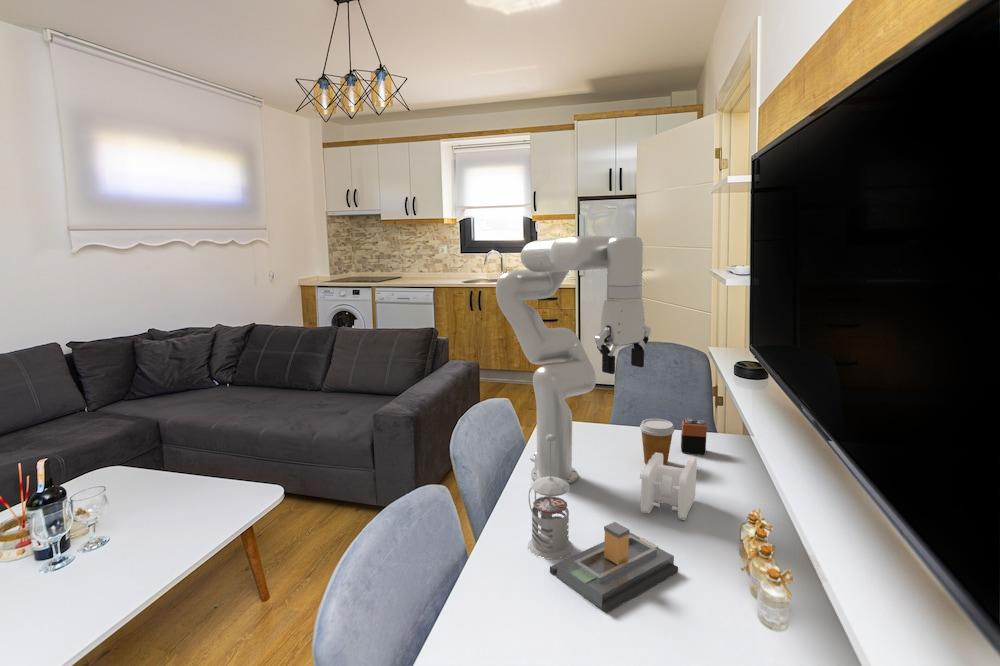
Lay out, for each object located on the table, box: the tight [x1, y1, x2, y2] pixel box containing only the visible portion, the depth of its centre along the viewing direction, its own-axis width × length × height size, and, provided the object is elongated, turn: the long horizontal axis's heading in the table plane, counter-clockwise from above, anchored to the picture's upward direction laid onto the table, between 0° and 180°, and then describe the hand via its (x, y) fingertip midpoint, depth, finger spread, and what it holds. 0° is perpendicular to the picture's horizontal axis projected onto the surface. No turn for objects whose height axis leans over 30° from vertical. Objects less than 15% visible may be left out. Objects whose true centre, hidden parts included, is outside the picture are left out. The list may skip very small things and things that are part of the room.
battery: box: [680, 417, 708, 455], centre depth 172 cm, size 4×7×10 cm, turn 77°
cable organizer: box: [639, 452, 698, 521], centre depth 137 cm, size 15×11×12 cm
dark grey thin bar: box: [601, 564, 679, 614], centre depth 107 cm, size 1×20×1 cm, turn 126°
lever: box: [603, 521, 631, 565], centre depth 111 cm, size 4×3×6 cm
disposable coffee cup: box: [639, 418, 676, 466], centre depth 163 cm, size 10×10×12 cm
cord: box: [549, 563, 557, 576], centre depth 118 cm, size 1×20×1 cm, turn 126°
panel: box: [556, 532, 675, 611], centre depth 112 cm, size 12×20×4 cm, turn 126°
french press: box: [527, 434, 574, 560], centre depth 121 cm, size 10×12×25 cm
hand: (623, 369), depth 128 cm, fingers open, 9 cm apart
